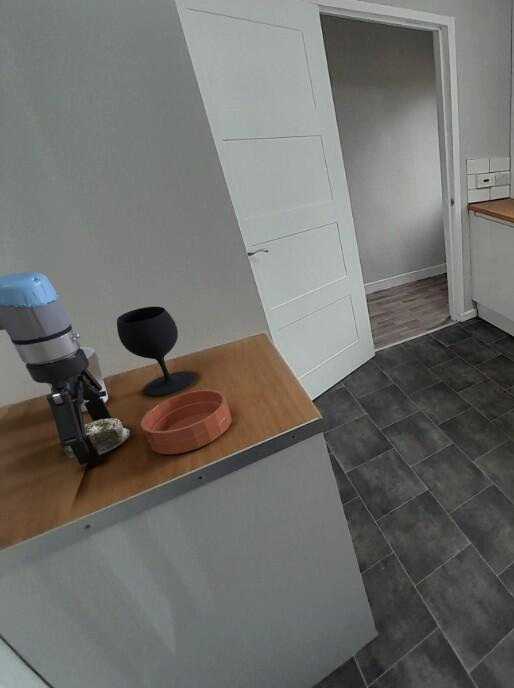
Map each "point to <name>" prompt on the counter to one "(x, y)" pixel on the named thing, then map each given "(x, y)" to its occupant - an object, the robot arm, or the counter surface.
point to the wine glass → (153, 345)
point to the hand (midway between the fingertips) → (99, 443)
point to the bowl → (186, 421)
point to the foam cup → (93, 372)
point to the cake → (103, 435)
